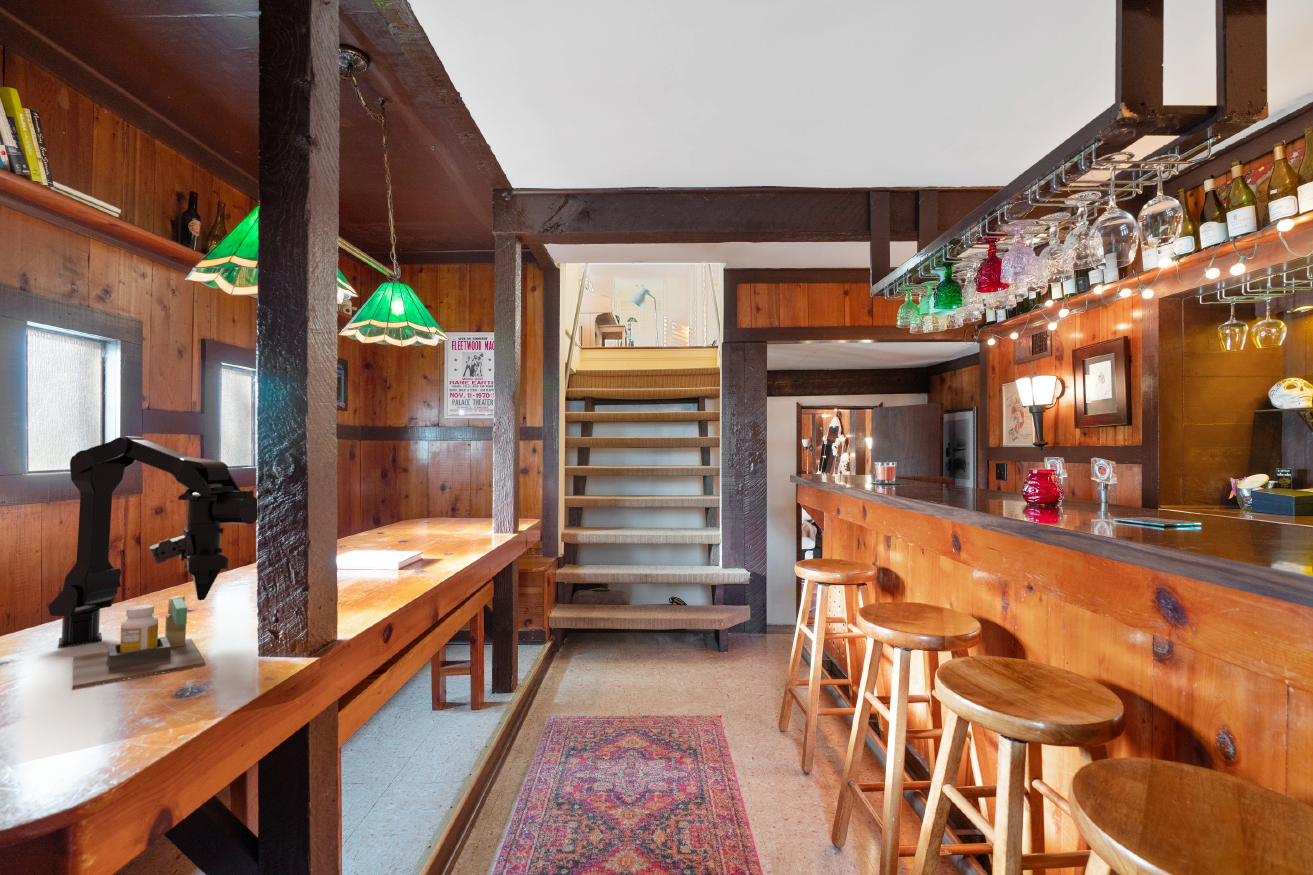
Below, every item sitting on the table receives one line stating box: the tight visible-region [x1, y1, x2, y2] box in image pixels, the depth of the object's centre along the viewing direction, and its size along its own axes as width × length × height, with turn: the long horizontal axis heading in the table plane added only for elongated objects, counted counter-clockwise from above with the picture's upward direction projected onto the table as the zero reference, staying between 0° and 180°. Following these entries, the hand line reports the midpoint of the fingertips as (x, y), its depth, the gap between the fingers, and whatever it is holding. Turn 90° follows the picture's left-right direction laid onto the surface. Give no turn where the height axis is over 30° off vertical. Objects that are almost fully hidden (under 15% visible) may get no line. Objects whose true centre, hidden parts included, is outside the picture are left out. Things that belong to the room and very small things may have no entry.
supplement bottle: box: [119, 604, 159, 653], centre depth 116 cm, size 5×5×10 cm
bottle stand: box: [72, 613, 206, 690], centre depth 116 cm, size 20×18×7 cm
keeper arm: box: [167, 595, 188, 625], centre depth 122 cm, size 13×3×3 cm, turn 42°
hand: (201, 599), depth 126 cm, fingers closed
